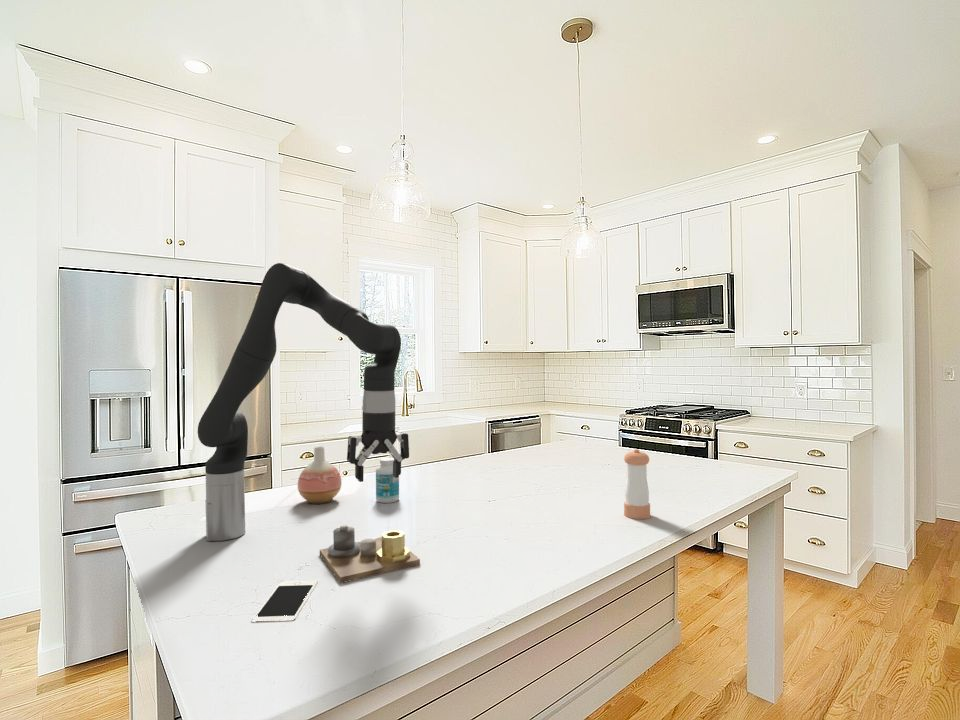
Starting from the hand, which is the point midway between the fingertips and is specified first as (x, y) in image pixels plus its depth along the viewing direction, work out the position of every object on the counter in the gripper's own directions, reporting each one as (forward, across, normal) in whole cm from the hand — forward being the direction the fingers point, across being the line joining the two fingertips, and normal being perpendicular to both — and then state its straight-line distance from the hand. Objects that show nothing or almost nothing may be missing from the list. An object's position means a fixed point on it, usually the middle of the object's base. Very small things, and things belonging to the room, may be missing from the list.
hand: (378, 479), depth 122 cm
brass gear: (+17, +2, -4) cm, 18 cm away
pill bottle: (+19, +18, +44) cm, 52 cm away
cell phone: (+19, -22, -11) cm, 31 cm away
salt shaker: (+17, +75, -9) cm, 77 cm away
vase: (+20, -1, +55) cm, 59 cm away
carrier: (+19, -2, 0) cm, 19 cm away
